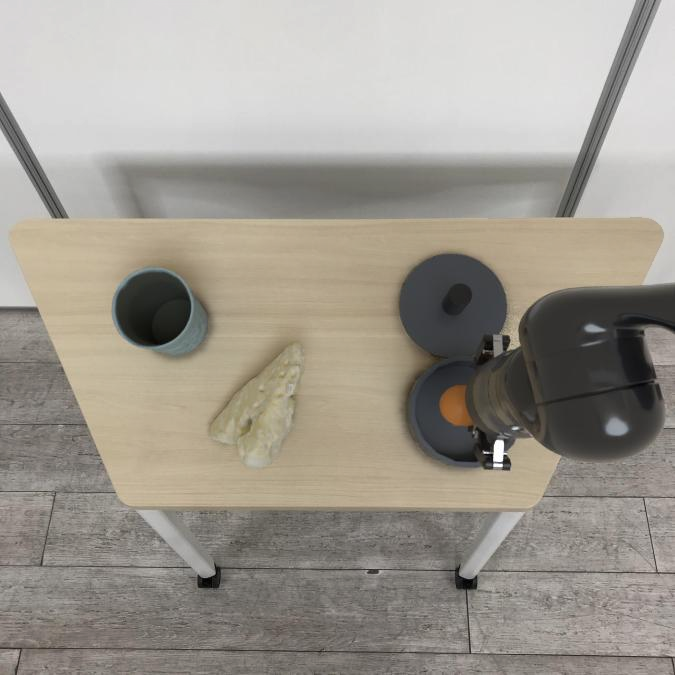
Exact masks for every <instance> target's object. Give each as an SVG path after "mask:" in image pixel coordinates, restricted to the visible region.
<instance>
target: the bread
mask: <svg viewBox="0 0 675 675" xmlns="http://www.w3.org/2000/svg"><path fill="white" fill-rule="evenodd" d="M465 390H466V385H456V386H454V387H451V388H449V389H447V390H446V391H445V392H444V393H443V395H442V396H441V399H440V404H439V406H440V411H441V414H442V416H443V417H444V418H445V419H446V420H447V421H448V422H450V423H452V426H471V425H473V421H472V420H471V418H470V416H469V414H468V412H467V409H466V404H465Z"/></svg>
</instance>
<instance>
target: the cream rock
mask: <svg viewBox="0 0 675 675" xmlns="http://www.w3.org/2000/svg"><path fill="white" fill-rule="evenodd" d="M304 352H305V349H304V348H303V345H302V344H301V342H299V341H294V342H293V343H291V344H289V345H288V346H286V347H285V348H284V350H283V351H282V352H281V353H280V354H278V356H276V358H275V359H274V360H272V362H270V363H269V364H268V365H267V366H266V367H265V368H263V370H261V372H260V373H259V375H257V376H255V377H253V378H252V379H250V380H249V381H248V382H247V383H246V384H244V386H242V387H241V388H240V389H239V390H238V391H237V392H235V394H234V395H233V396H232V397H231V399H230V400H229V403H228V404H227V406H226V407H225V408H223V410H222V411H221V412H220V413H219V414H218V415H217V417H216V418H215V419H214V421H213V422H212V423H211V425H210V427H209V431H208V434H207V436H208V437H209V438H210V439H212V440H213V441H216V442H219V443H223V444H226V445H229V446H230V445H235V449H236V453H237V457H238V459H239V460H240V462H241V463H242V465H244V466H246V467H248V468H251V469H259V468H261V469H263V468H265V467H267V466H270V465H271V464H272V463H273V462H274V461H275V460H276V459H277V458H278V457H279V455H280V453H281V448H282V442H283V441H284V440H285V438H286V437H287V436H288V435H289V433H290V432H291V431H292V428H293V427H294V426H295V425H296V421H295V420H294V418H293V417H294V412H295V410H296V400H295V399H294V398H293V397H292V396H293V395H295V394H296V393H297V391H298V389H299V387H300V382H301V381H300V380H301V377H302V375H303V373H304V370H305V363H306V355H305V353H304Z"/></svg>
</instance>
